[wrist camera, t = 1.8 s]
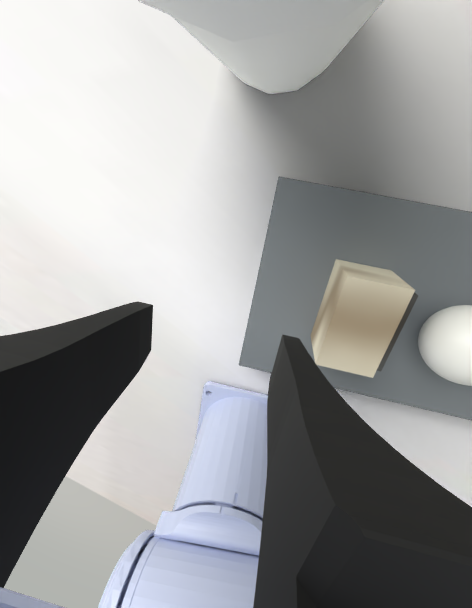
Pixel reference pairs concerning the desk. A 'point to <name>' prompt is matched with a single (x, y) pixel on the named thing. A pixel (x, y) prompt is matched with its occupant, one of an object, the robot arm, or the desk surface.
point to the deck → (367, 251)
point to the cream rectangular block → (360, 318)
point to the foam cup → (271, 35)
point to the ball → (449, 343)
